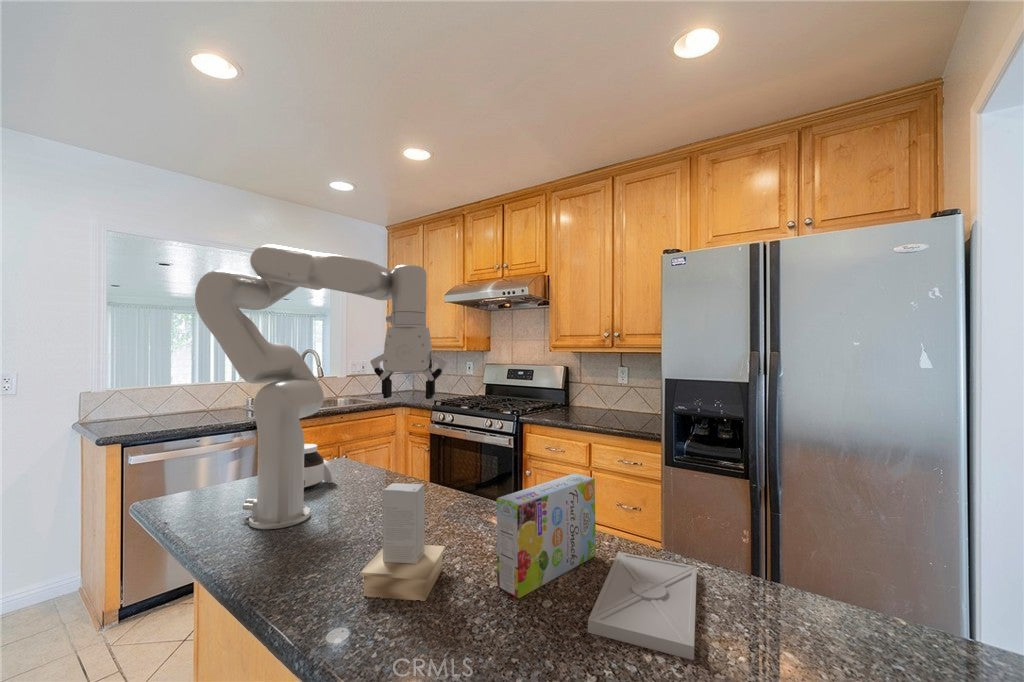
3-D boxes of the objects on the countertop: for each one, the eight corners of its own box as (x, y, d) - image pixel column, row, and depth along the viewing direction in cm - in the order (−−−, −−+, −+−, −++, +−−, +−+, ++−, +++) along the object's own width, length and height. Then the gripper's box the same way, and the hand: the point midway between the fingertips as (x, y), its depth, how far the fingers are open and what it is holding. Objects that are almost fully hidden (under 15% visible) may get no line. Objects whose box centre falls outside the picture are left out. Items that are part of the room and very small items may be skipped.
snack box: (573, 547, 89) (573, 471, 89) (597, 557, 85) (597, 477, 85) (494, 587, 74) (495, 495, 74) (518, 601, 70) (519, 504, 70)
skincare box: (425, 553, 77) (425, 483, 77) (417, 565, 73) (417, 491, 73) (391, 551, 78) (392, 482, 78) (381, 562, 74) (382, 489, 74)
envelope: (696, 577, 79) (618, 562, 84) (696, 564, 79) (618, 550, 84) (694, 662, 57) (587, 634, 62) (694, 644, 57) (587, 618, 62)
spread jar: (278, 491, 122) (278, 448, 123) (303, 479, 134) (304, 440, 134) (318, 493, 120) (318, 450, 121) (340, 481, 132) (341, 441, 132)
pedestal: (360, 597, 70) (360, 572, 70) (387, 564, 81) (387, 542, 81) (426, 602, 69) (426, 576, 69) (445, 568, 80) (445, 546, 80)
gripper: (364, 320, 97) (363, 399, 97) (442, 320, 95) (441, 400, 95) (378, 322, 104) (378, 395, 104) (451, 322, 102) (450, 397, 102)
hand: (408, 398), depth 99 cm, fingers open, 9 cm apart
